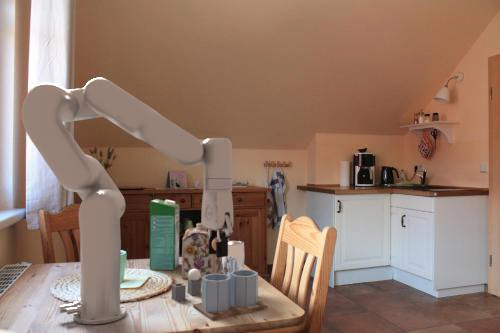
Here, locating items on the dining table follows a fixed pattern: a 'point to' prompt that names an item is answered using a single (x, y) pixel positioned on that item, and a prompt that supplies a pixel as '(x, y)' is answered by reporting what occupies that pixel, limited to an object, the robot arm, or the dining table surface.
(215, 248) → the terracotta ball
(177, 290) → the stand
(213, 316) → the rack board
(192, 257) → the decorative jar
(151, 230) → the milk carton
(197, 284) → the stand
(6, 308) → the dining table surface
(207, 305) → the tubes
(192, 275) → the ivory ball
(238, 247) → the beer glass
